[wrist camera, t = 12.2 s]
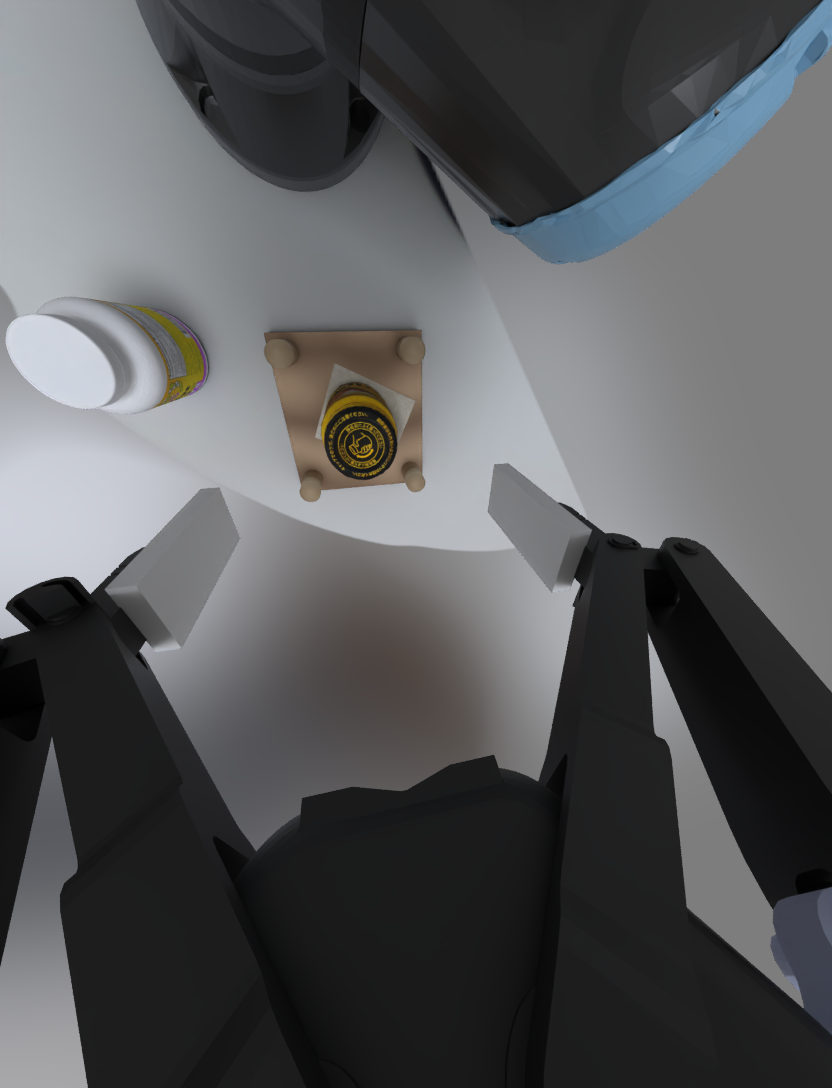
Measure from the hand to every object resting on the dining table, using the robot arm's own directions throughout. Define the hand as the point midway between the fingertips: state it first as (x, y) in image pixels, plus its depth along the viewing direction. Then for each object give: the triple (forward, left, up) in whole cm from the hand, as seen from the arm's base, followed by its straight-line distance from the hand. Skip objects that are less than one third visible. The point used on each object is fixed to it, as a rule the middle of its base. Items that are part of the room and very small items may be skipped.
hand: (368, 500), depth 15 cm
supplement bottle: (-6, -16, -22) cm, 28 cm away
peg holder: (0, 0, -22) cm, 22 cm away
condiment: (0, +1, -20) cm, 20 cm away
